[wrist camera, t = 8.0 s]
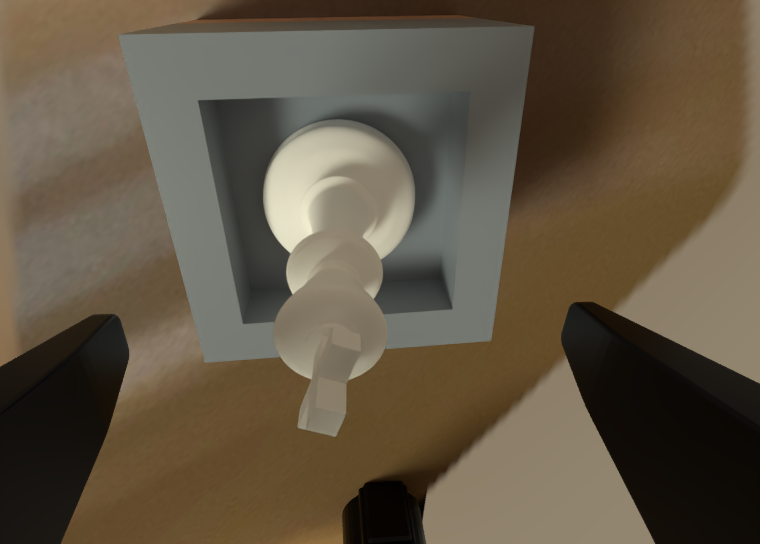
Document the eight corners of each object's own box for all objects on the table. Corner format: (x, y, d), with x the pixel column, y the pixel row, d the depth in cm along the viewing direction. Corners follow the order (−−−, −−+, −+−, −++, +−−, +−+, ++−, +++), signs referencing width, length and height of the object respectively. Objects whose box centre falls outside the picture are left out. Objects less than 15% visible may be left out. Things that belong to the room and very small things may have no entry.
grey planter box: (442, 240, 24) (490, 340, 17) (240, 252, 23) (205, 362, 16) (457, 14, 19) (534, 26, 12) (197, 19, 18) (117, 34, 11)
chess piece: (247, 238, 16) (114, 502, 7) (287, 93, 14) (176, 201, 5) (382, 281, 17) (418, 558, 8) (439, 152, 15) (570, 329, 6)
